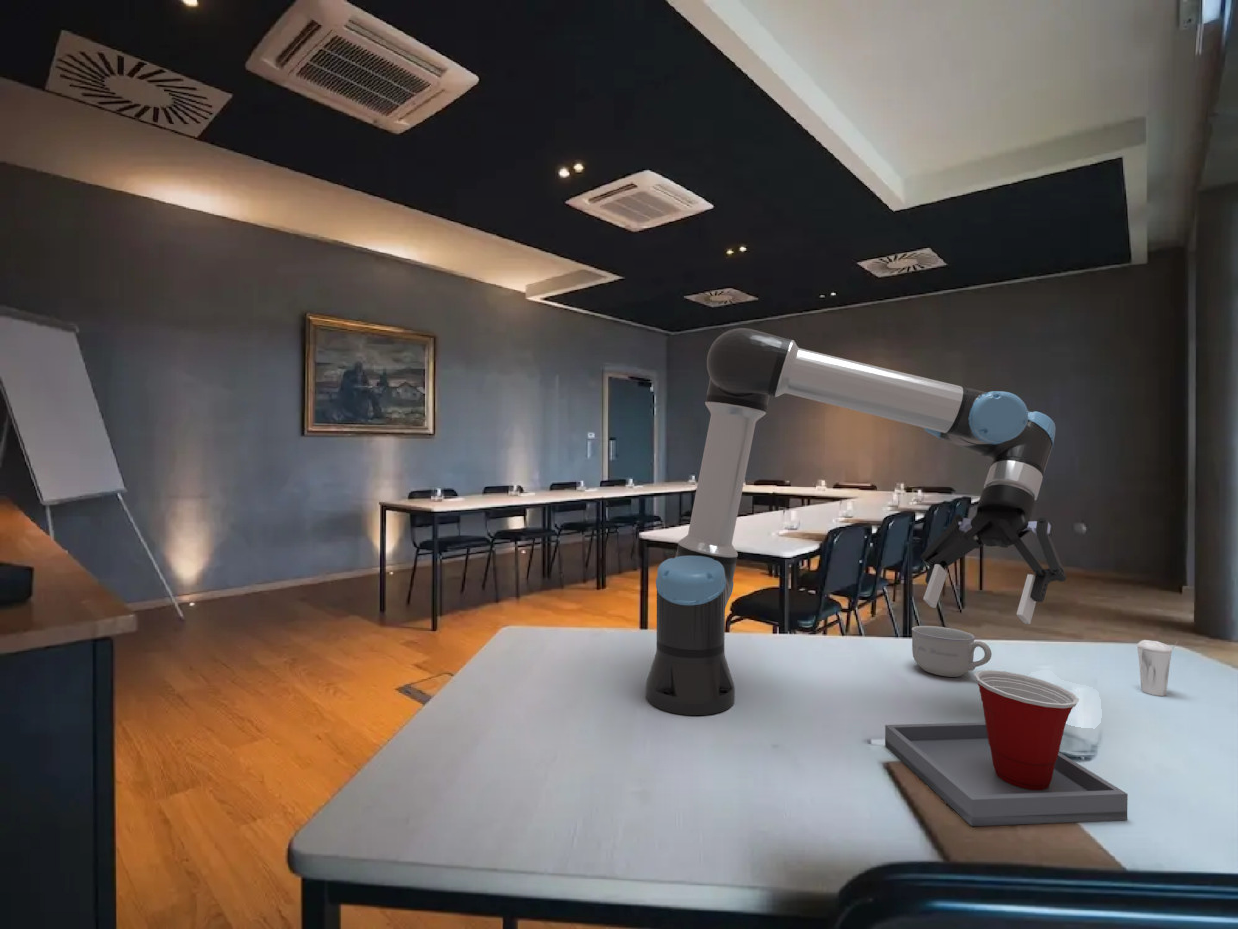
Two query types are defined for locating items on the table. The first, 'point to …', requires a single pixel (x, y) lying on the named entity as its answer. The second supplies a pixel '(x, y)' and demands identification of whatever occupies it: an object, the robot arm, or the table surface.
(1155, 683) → the milkshake
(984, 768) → the grey shallow square tray
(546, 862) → the table surface
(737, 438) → the robot arm
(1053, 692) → the plastic cup
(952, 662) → the teacup
